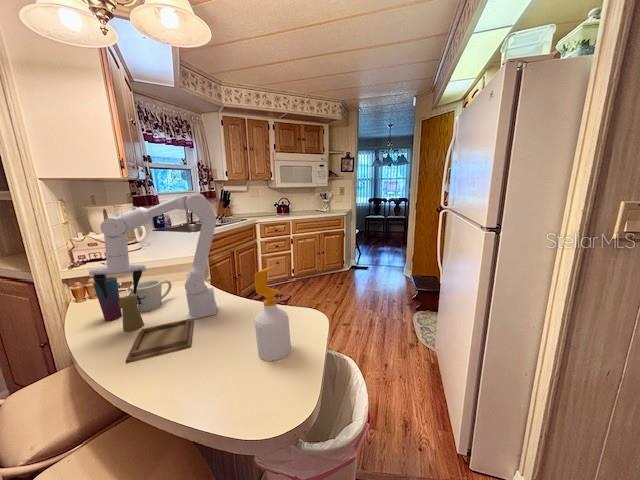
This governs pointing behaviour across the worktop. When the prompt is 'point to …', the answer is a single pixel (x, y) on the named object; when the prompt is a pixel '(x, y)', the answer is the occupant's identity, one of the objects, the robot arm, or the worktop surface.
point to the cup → (109, 299)
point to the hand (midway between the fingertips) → (121, 294)
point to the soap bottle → (271, 323)
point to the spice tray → (161, 340)
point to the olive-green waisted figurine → (130, 314)
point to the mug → (150, 294)
